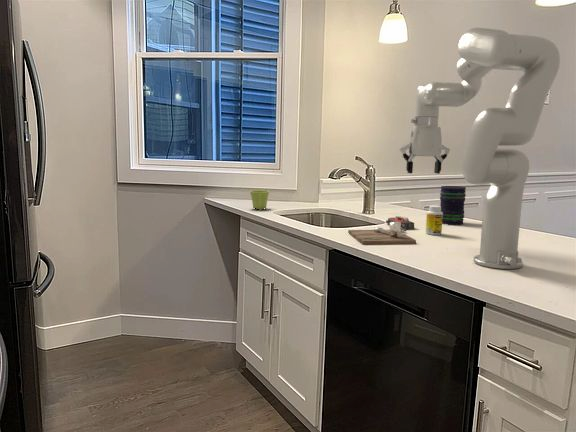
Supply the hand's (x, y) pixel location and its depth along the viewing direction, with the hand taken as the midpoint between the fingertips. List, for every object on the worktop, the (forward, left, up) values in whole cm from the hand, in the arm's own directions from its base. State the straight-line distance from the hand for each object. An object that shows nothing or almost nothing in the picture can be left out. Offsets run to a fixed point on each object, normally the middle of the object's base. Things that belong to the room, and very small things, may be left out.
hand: (423, 173), depth 169 cm
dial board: (-1, +15, -22) cm, 27 cm away
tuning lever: (-1, +12, -21) cm, 24 cm away
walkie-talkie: (+17, 0, -23) cm, 29 cm away
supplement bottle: (+5, -7, -23) cm, 24 cm away
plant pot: (+70, +52, -23) cm, 90 cm away
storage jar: (+27, -24, -23) cm, 43 cm away
